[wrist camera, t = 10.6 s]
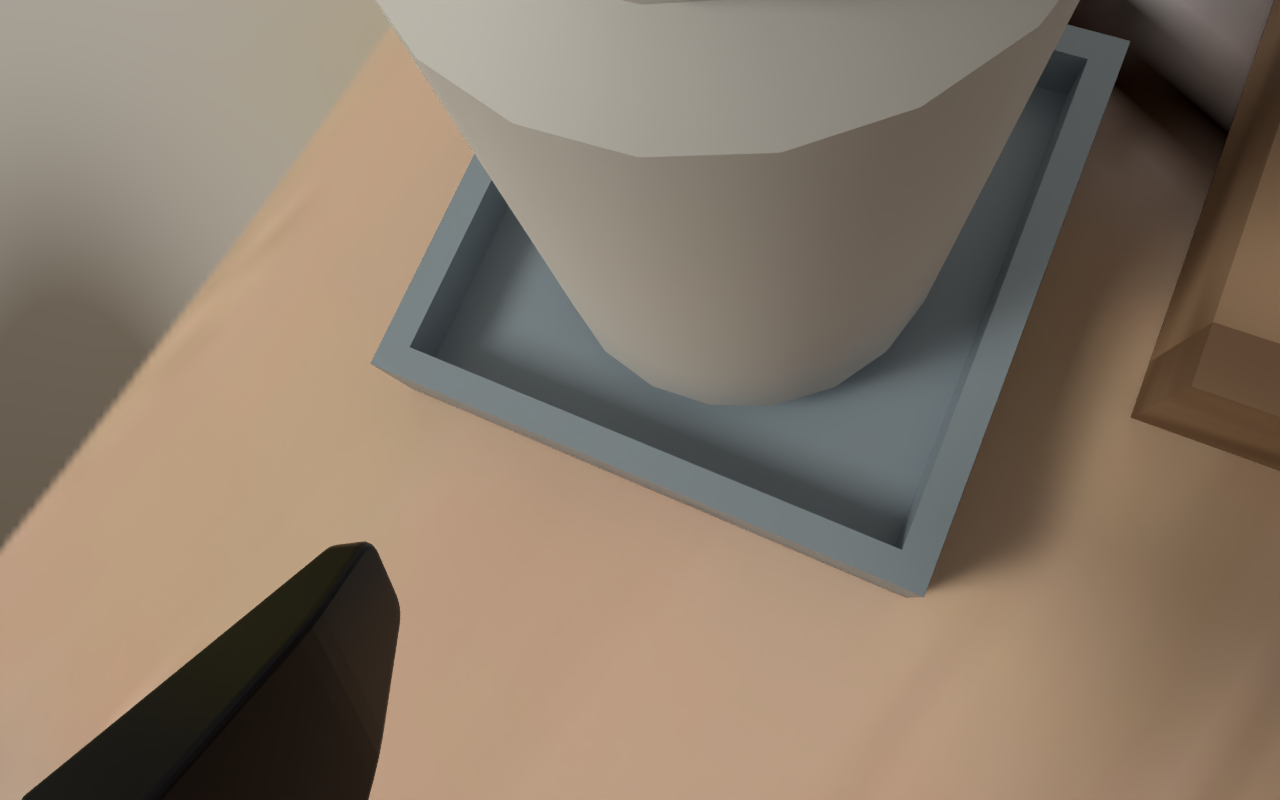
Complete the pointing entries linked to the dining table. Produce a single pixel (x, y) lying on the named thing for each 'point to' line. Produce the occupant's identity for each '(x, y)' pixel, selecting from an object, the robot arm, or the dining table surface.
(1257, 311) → the holder collar
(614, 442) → the tray
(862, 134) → the can
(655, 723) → the dining table surface
